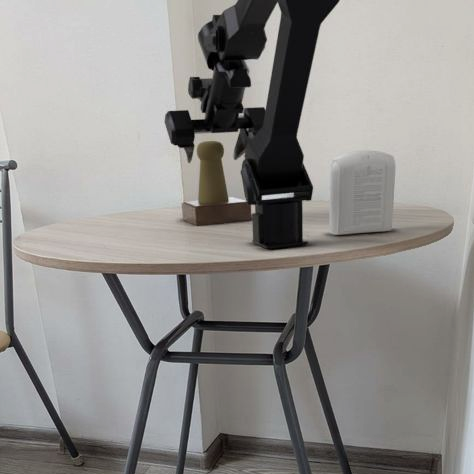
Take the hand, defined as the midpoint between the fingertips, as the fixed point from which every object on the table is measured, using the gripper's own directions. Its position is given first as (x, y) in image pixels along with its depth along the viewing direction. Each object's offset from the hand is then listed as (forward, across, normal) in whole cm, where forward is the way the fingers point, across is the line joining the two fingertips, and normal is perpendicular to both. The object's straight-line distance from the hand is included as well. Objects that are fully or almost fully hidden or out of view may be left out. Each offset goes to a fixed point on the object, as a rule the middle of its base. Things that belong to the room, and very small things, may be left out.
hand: (211, 159), depth 111 cm
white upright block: (-13, -15, +29) cm, 35 cm away
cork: (+6, 0, +5) cm, 8 cm away
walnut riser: (+8, 0, +8) cm, 11 cm away
